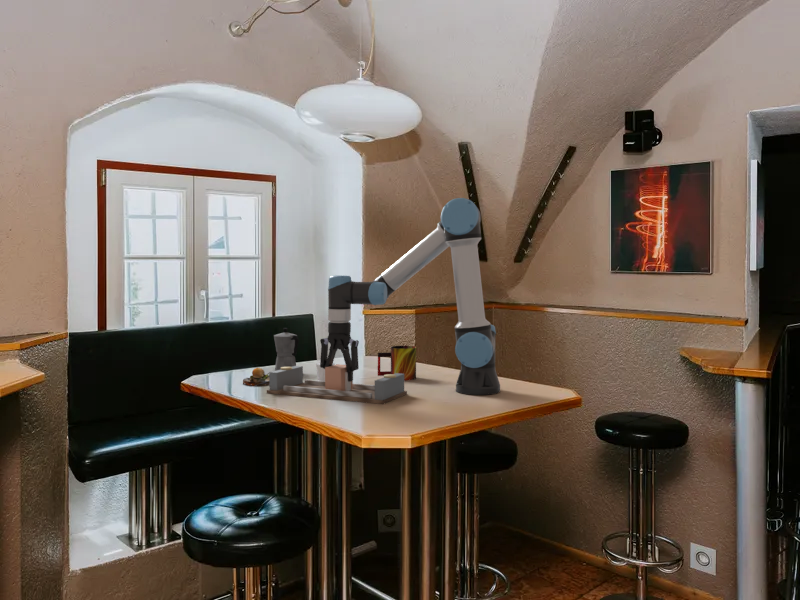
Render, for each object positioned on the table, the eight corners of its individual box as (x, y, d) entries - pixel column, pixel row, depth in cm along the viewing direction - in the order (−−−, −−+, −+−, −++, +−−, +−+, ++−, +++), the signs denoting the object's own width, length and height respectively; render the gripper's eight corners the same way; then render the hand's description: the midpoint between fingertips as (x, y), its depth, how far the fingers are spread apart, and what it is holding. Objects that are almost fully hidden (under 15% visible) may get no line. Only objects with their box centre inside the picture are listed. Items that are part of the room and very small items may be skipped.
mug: (376, 378, 262) (376, 347, 262) (407, 375, 270) (407, 345, 269) (389, 382, 254) (389, 350, 254) (420, 379, 261) (420, 347, 261)
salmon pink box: (352, 388, 234) (352, 365, 234) (340, 392, 227) (340, 368, 226) (337, 387, 237) (337, 364, 236) (325, 391, 229) (325, 367, 229)
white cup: (331, 384, 251) (331, 364, 250) (313, 383, 252) (313, 364, 252) (337, 380, 258) (337, 362, 257) (319, 380, 259) (319, 361, 259)
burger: (282, 382, 255) (282, 362, 255) (262, 387, 245) (262, 366, 244) (256, 380, 261) (256, 360, 260) (235, 385, 250) (235, 364, 250)
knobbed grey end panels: (405, 391, 230) (405, 372, 230) (384, 400, 216) (384, 379, 215) (294, 382, 249) (294, 364, 248) (268, 389, 234) (268, 370, 234)
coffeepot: (266, 371, 279) (266, 327, 278) (286, 369, 285) (286, 326, 284) (288, 376, 267) (287, 330, 266) (308, 373, 274) (307, 328, 273)
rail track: (406, 394, 231) (406, 386, 231) (383, 404, 215) (383, 396, 215) (296, 384, 250) (296, 377, 250) (266, 393, 233) (266, 385, 233)
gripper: (370, 322, 230) (369, 390, 231) (320, 319, 238) (320, 385, 239) (359, 323, 223) (358, 394, 224) (309, 321, 231) (308, 389, 232)
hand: (339, 389), depth 232 cm, fingers closed on salmon pink box, 6 cm apart
